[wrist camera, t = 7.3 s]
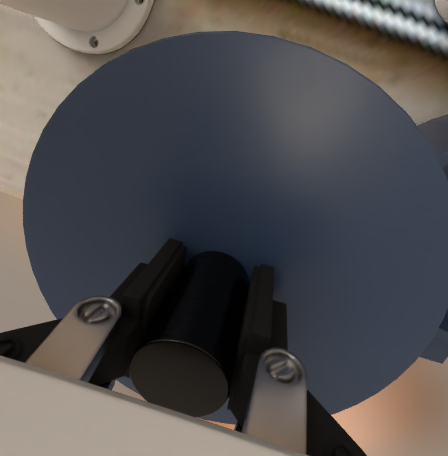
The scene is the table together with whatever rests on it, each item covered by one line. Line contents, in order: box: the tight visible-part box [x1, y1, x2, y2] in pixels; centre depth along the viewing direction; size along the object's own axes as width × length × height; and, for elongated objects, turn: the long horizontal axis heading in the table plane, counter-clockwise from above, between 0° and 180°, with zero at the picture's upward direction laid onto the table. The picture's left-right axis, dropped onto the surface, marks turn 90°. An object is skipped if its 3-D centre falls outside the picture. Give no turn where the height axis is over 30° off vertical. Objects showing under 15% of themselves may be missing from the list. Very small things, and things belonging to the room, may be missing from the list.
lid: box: [23, 31, 448, 424], centre depth 11 cm, size 18×18×6 cm
